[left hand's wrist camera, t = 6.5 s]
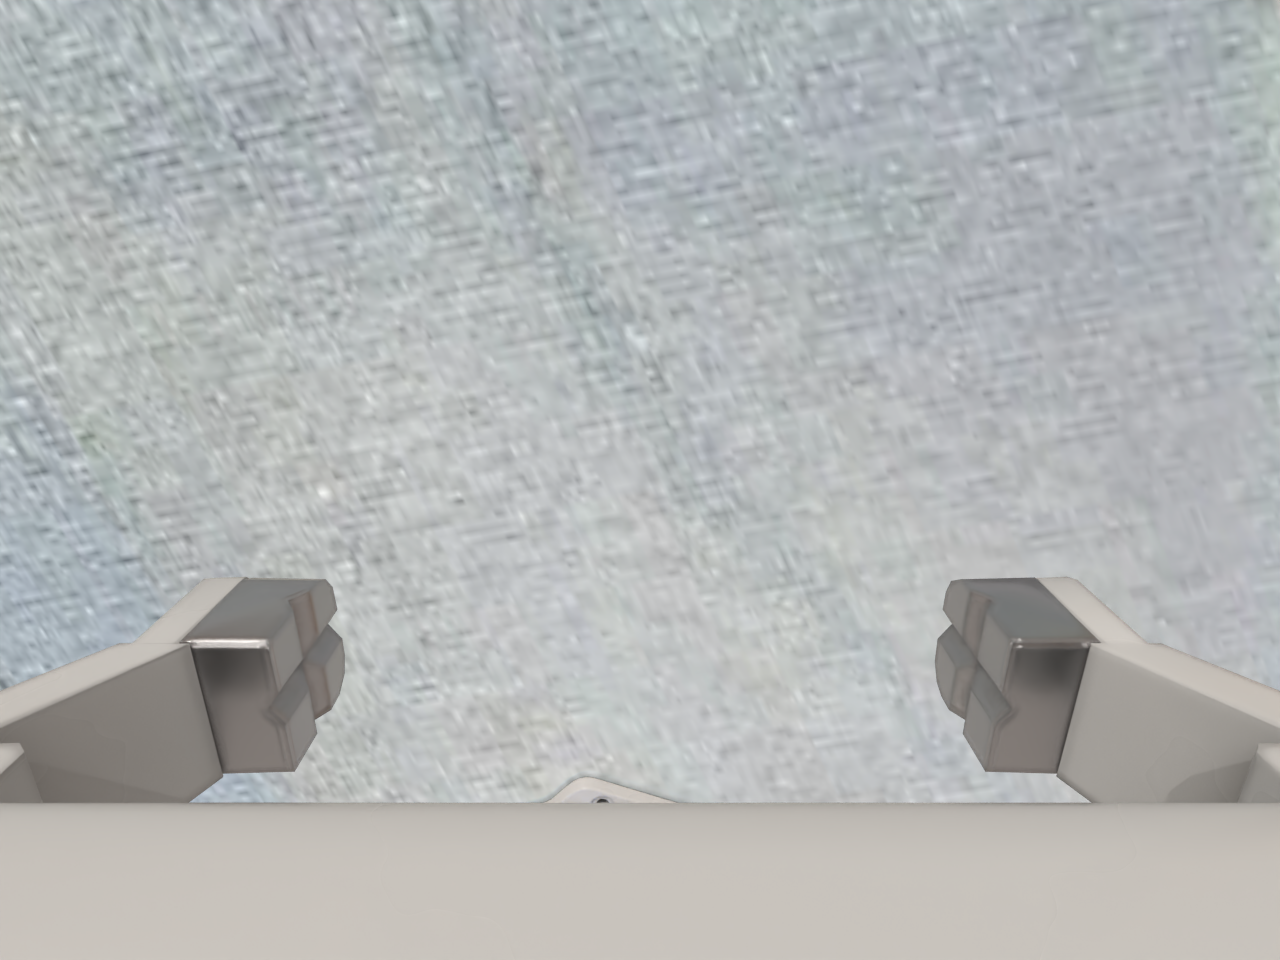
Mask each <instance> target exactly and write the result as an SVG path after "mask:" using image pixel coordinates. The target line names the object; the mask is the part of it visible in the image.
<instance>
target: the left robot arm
mask: <svg viewBox="0 0 1280 960" xmlns="http://www.w3.org/2000/svg"><path fill="white" fill-rule="evenodd" d="M336 611H337V606H336V601H335V596H334V591H333V587H332V586H331V585H330V584H329V583H328V581H327V580H326V579H289V578H247V577H227V578H208V579H203V580H202V581H201V582H200V583H199V584H198V585H197V586H196V587H194V588H193V589H192V590H191V591H190V592H189V593H188V594H187V595H185V596H184V597H183V598H182V599H181V600H180V601H179V602H178V603H177V604H175V605H174V606H173V607H172V608H171V609H170V610H169V611H168V612H167V613H165V614H164V615H163V616H162V617H161V618H160V619H159V620H158V621H156V622H155V623H154V624H153V625H152V626H151V627H150V628H149V629H148V630H146V631H145V632H144V633H143V634H142V635H141V636H140V637H139V638H138V639H136V640H135V641H134V642H133V643H119V644H117V645H114V646H112V647H109V648H107V649H104V650H102V651H99V652H97V653H94V654H92V655H89V656H86V657H84V658H81V659H79V660H76V661H74V662H71V663H69V664H66V665H64V666H61V667H59V668H56V669H54V670H51V671H49V672H46V673H44V674H41V675H39V676H36V677H34V678H31V679H29V680H26V681H24V682H21V683H19V684H16V685H14V686H11V687H9V688H6V689H4V690H1V691H0V960H1280V691H1278V690H1276V689H1273V688H1271V687H1268V686H1266V685H1263V684H1261V683H1258V682H1256V681H1253V680H1251V679H1248V678H1246V677H1243V676H1241V675H1238V674H1236V673H1233V672H1231V671H1228V670H1226V669H1223V668H1221V667H1218V666H1216V665H1213V664H1211V663H1208V662H1206V661H1203V660H1201V659H1198V658H1196V657H1193V656H1191V655H1188V654H1186V653H1183V652H1181V651H1178V650H1176V649H1173V648H1171V647H1168V646H1166V645H1163V644H1161V643H1147V642H1146V641H1145V640H1144V639H1143V638H1141V637H1140V636H1139V635H1138V634H1137V633H1136V632H1135V631H1134V630H1133V629H1131V628H1130V627H1129V626H1128V625H1127V624H1126V623H1125V622H1124V621H1123V620H1121V619H1120V618H1119V617H1118V616H1117V615H1116V614H1115V613H1114V612H1113V611H1111V610H1110V609H1109V608H1108V607H1107V606H1106V605H1105V604H1104V603H1103V602H1101V601H1100V600H1099V599H1098V598H1097V597H1096V596H1095V595H1094V594H1093V593H1091V592H1090V591H1089V590H1088V589H1087V588H1086V587H1085V586H1084V585H1083V584H1081V583H1080V582H1079V581H1078V580H1076V579H1073V578H1069V577H1051V578H998V579H960V580H954V581H951V583H950V585H949V587H948V589H947V591H946V594H945V600H944V605H943V611H944V612H945V614H946V615H947V617H948V619H949V620H950V622H951V623H952V625H951V626H950V627H949V628H948V629H947V630H946V631H945V632H944V633H943V634H942V635H941V636H940V637H939V638H938V640H937V648H936V656H935V668H936V679H937V684H938V687H939V690H940V693H941V696H942V698H943V700H944V702H945V704H946V705H947V707H948V709H949V710H950V711H952V712H953V713H955V714H957V715H958V716H960V717H961V718H963V719H965V724H964V730H963V735H964V736H965V738H966V740H967V741H968V743H969V745H970V746H971V748H972V750H973V751H974V753H975V755H976V757H977V758H978V760H979V762H980V763H981V765H982V767H983V768H984V770H985V772H1020V773H1057V777H1058V778H1059V779H1061V780H1062V781H1063V782H1065V783H1066V784H1067V785H1069V786H1070V787H1071V788H1073V789H1074V790H1075V791H1077V792H1078V793H1079V794H1081V795H1082V796H1083V797H1085V798H1086V799H1087V800H1089V801H1090V802H1092V803H677V802H674V801H670V800H667V799H664V798H660V797H657V796H654V795H650V794H647V793H644V792H640V791H637V790H634V789H630V788H627V787H624V786H620V785H617V784H614V783H610V782H607V781H604V780H600V779H597V778H593V777H582V778H579V779H576V780H574V781H573V782H571V783H570V784H569V785H567V786H566V787H565V788H563V789H562V790H561V791H560V792H559V793H558V794H557V795H556V796H554V797H553V798H552V799H550V800H548V801H546V802H544V803H189V802H190V801H191V800H193V799H194V798H195V797H197V796H198V795H199V794H201V793H202V792H204V791H205V790H206V789H208V788H209V787H210V786H212V785H213V784H214V783H216V782H217V781H218V780H220V779H221V778H222V777H223V773H259V772H295V770H296V768H297V767H298V765H299V763H300V762H301V760H302V758H303V757H304V755H305V753H306V752H307V750H308V748H309V746H310V745H311V743H312V741H313V740H314V738H315V736H316V735H317V730H316V724H315V719H317V718H319V717H320V716H322V715H323V714H325V713H327V712H328V711H330V710H331V709H332V707H333V705H334V704H335V702H336V700H337V698H338V696H339V694H340V690H341V686H342V682H343V678H344V674H345V653H344V647H343V640H342V638H341V637H340V636H339V635H338V634H337V633H336V632H335V631H334V630H333V629H332V628H331V627H330V626H329V625H328V623H329V622H330V620H331V619H332V617H333V615H334V614H335V612H336ZM600 799H606V800H604V801H603V800H600Z"/></svg>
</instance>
